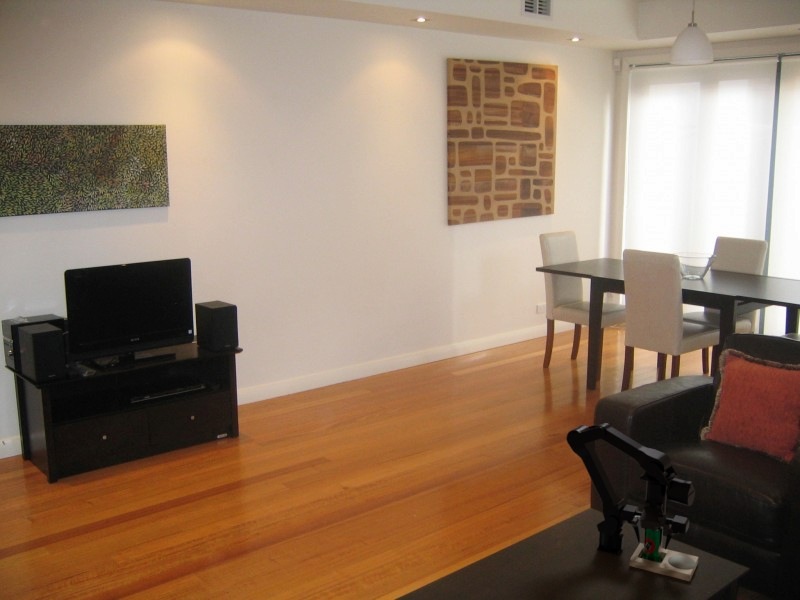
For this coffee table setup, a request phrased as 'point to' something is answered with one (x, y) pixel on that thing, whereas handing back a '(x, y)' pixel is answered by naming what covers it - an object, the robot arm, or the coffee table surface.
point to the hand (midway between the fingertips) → (652, 545)
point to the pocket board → (667, 563)
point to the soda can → (653, 544)
